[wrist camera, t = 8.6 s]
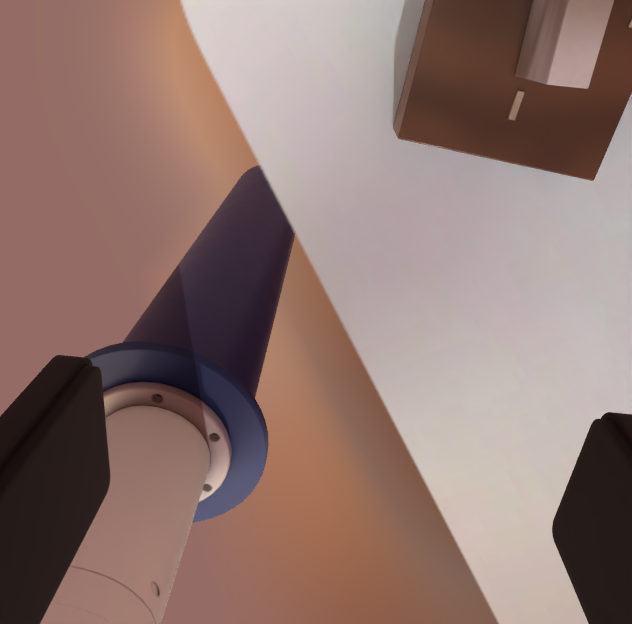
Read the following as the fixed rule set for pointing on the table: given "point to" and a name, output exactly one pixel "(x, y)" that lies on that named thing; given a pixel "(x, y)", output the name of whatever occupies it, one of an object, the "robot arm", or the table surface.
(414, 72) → the tap base
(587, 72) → the tap handle
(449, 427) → the table surface
